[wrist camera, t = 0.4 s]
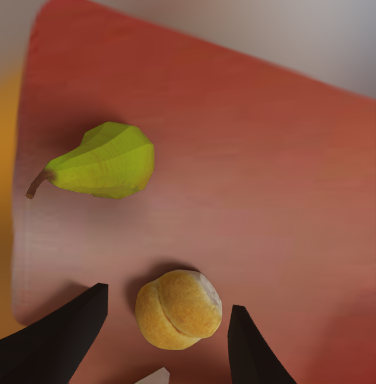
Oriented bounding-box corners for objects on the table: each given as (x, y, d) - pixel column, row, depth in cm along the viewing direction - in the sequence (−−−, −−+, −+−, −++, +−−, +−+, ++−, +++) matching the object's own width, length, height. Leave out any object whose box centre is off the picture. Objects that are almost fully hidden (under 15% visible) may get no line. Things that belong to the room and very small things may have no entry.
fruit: (130, 111, 19) (3, 49, 7) (176, 160, 19) (128, 179, 8) (87, 158, 20) (-80, 172, 8) (131, 203, 21) (32, 275, 9)
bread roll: (126, 291, 23) (110, 320, 19) (191, 253, 21) (188, 277, 18) (168, 344, 24) (161, 381, 20) (233, 312, 22) (239, 346, 19)
